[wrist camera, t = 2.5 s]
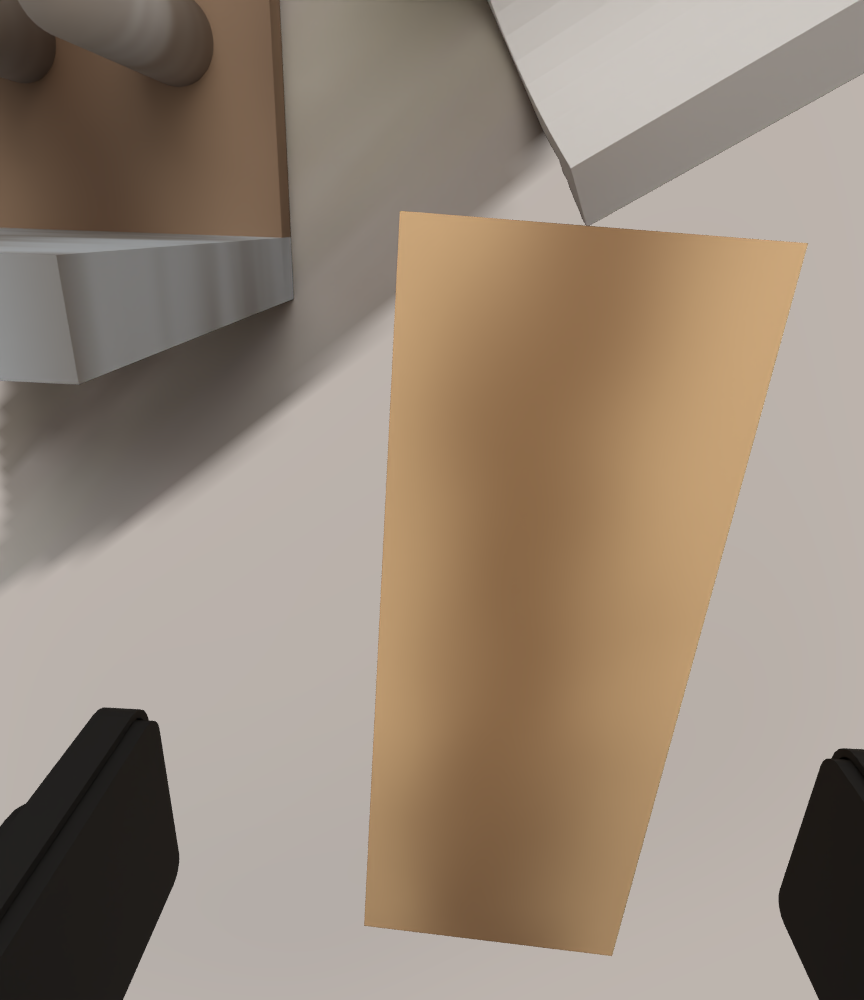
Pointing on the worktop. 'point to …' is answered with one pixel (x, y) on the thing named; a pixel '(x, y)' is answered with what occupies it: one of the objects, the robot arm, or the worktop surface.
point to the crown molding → (669, 80)
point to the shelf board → (551, 555)
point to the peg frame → (137, 179)
